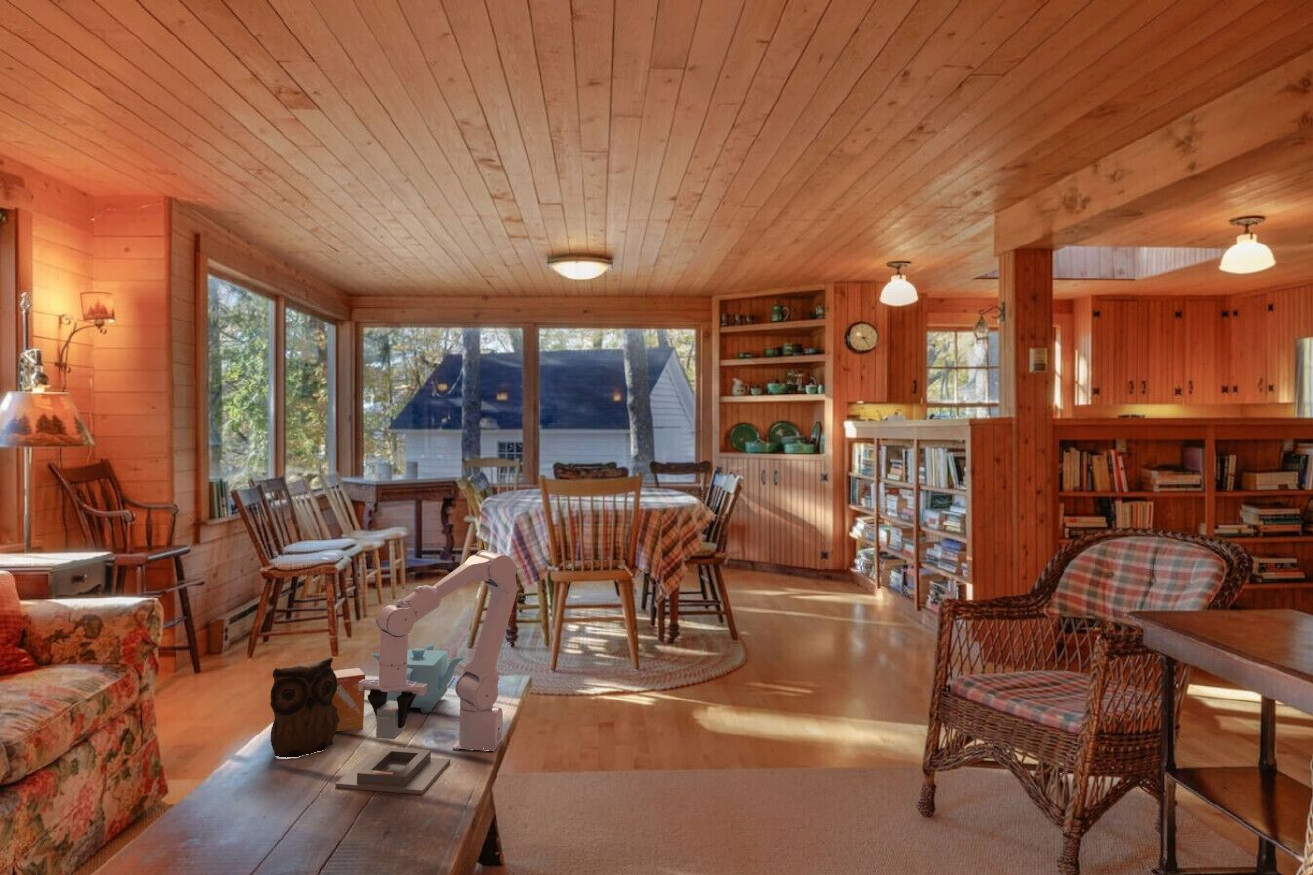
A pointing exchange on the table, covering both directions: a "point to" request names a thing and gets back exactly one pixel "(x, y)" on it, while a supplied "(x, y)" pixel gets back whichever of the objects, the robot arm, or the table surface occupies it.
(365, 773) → the chassis
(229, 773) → the table surface
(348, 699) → the small box
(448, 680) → the teakettle
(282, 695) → the owl
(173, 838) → the table surface
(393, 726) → the block
